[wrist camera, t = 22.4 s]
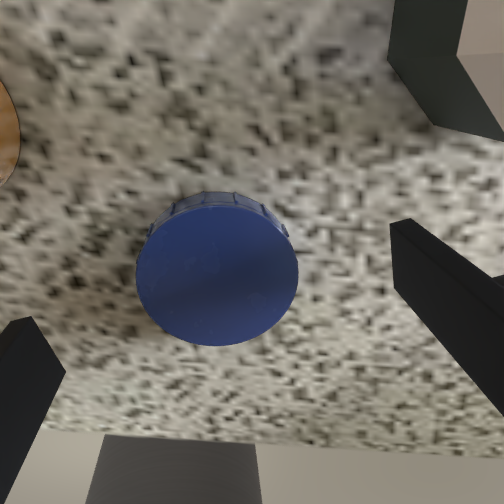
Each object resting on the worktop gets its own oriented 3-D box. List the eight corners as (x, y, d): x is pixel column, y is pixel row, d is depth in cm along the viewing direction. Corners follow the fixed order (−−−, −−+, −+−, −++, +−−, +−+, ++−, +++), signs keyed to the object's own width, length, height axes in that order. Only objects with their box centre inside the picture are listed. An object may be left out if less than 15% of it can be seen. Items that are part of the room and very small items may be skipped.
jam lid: (298, 192, 15) (308, 205, 14) (284, 321, 18) (291, 344, 16) (135, 189, 14) (126, 203, 13) (147, 324, 17) (141, 349, 16)
